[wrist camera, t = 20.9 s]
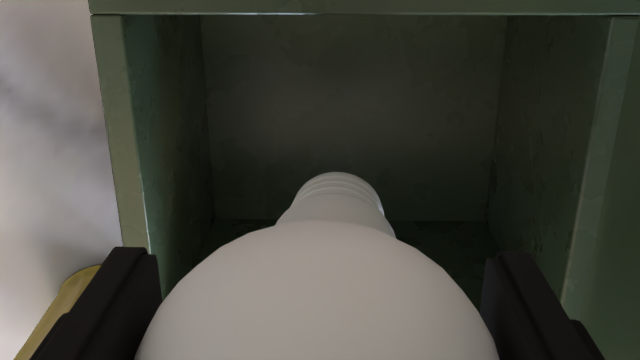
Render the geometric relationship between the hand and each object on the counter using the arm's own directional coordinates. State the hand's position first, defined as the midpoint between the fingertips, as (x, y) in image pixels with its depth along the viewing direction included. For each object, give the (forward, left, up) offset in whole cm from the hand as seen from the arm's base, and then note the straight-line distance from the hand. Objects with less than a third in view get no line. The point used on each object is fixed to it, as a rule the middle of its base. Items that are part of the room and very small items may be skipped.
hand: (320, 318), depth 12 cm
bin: (+1, 0, -15) cm, 15 cm away
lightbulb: (0, 0, -6) cm, 6 cm away
